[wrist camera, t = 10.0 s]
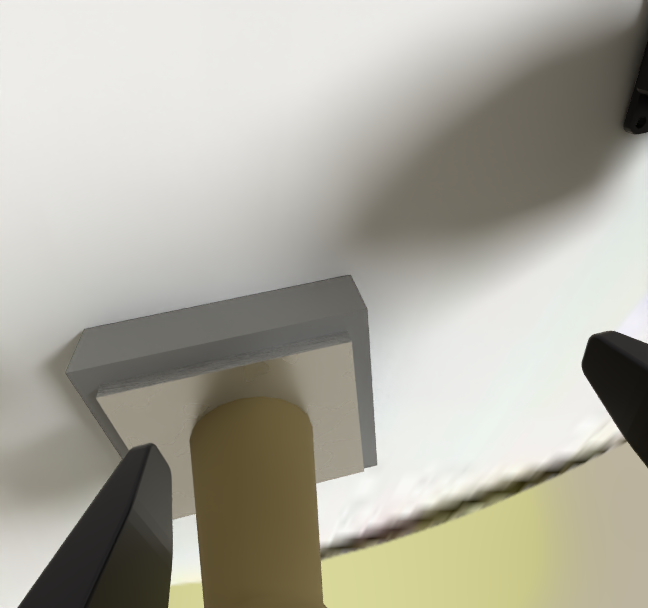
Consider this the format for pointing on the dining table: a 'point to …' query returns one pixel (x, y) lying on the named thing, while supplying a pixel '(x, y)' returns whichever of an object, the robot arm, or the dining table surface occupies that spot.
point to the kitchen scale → (235, 374)
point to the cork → (257, 505)
